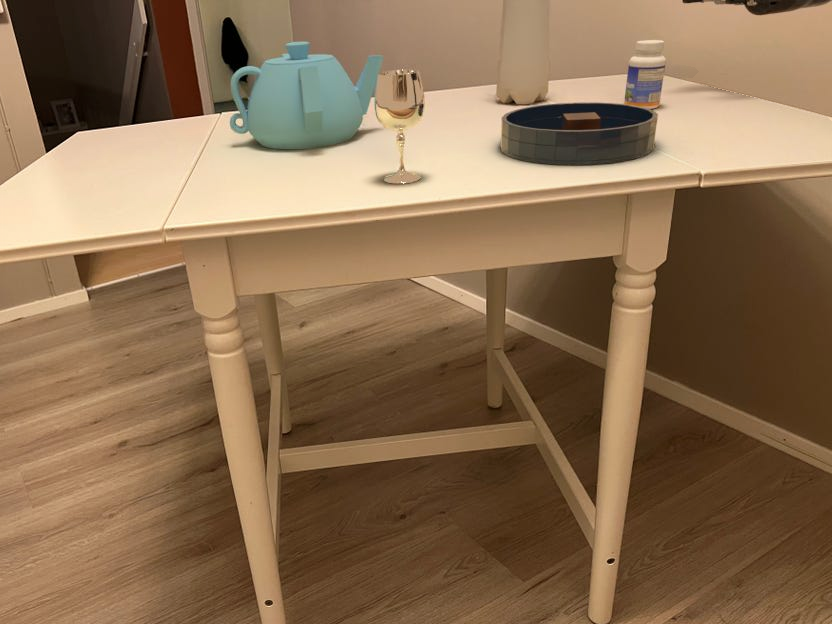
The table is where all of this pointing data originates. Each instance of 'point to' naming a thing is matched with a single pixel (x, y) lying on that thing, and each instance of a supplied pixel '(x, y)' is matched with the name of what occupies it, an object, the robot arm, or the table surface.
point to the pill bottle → (645, 75)
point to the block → (581, 121)
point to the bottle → (524, 52)
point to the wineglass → (399, 110)
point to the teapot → (303, 100)
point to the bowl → (578, 134)
